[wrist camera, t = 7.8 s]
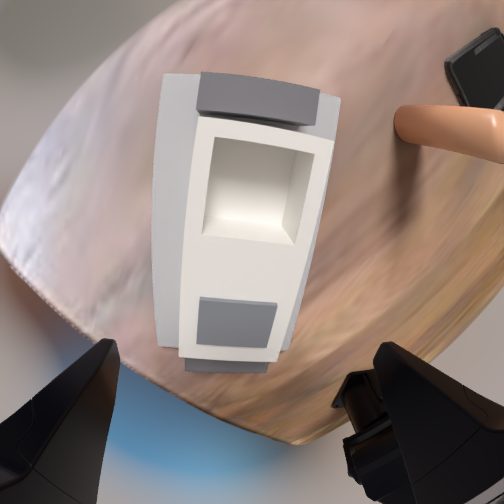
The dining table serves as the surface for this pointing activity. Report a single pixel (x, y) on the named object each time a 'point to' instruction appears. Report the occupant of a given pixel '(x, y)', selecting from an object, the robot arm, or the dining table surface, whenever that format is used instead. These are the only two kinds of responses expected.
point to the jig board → (179, 167)
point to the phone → (479, 71)
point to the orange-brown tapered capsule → (454, 129)
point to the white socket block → (247, 236)
